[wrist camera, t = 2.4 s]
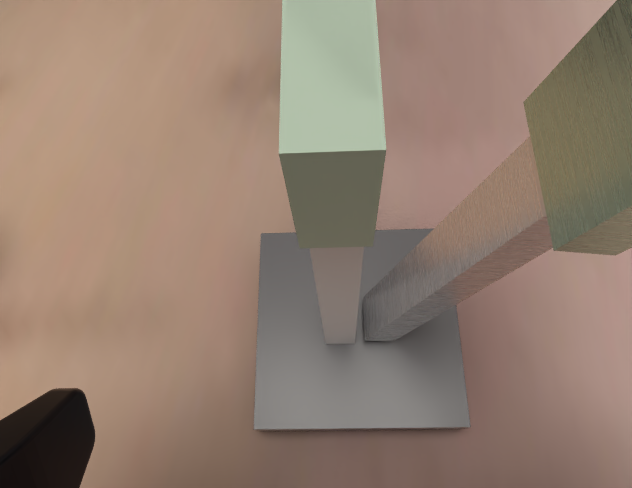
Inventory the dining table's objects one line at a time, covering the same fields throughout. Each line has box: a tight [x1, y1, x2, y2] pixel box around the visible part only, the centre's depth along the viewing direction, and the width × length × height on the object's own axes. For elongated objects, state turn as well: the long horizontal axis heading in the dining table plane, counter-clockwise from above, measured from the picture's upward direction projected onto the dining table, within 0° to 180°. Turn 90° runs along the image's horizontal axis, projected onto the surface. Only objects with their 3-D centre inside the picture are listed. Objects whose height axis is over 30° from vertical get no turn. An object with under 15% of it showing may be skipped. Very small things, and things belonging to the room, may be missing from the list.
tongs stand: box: [254, 0, 470, 431], centre depth 12 cm, size 7×7×14 cm
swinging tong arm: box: [363, 0, 632, 342], centre depth 12 cm, size 3×1×12 cm, turn 0°
